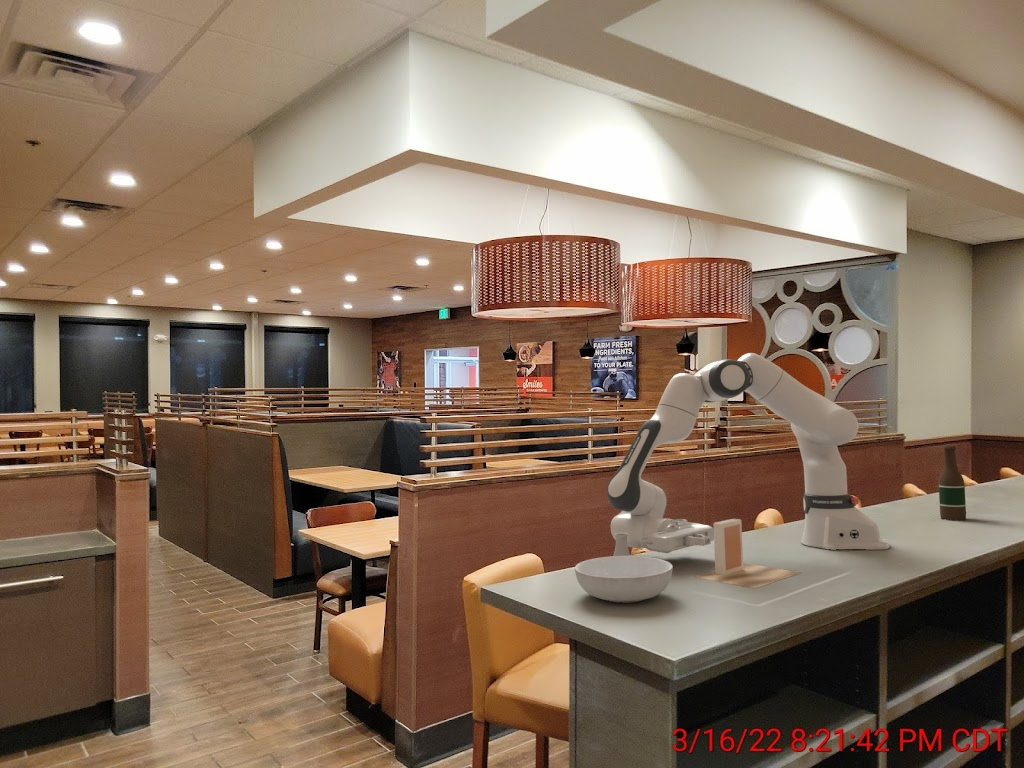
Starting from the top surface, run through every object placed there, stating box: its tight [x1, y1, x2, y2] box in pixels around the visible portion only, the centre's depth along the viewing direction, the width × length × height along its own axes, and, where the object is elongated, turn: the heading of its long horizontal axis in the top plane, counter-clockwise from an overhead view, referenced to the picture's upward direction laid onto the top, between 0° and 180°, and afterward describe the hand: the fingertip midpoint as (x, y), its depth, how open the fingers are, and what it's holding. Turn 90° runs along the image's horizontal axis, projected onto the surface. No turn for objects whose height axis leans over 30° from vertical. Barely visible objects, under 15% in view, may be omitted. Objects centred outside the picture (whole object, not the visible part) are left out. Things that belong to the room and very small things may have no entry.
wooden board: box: [694, 562, 802, 589], centre depth 173 cm, size 16×20×1 cm
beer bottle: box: [938, 444, 967, 522], centre depth 243 cm, size 8×8×24 cm
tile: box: [713, 518, 744, 575], centre depth 177 cm, size 2×8×12 cm, turn 130°
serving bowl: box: [574, 555, 674, 604], centre depth 159 cm, size 21×21×7 cm
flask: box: [613, 533, 631, 556], centre depth 179 cm, size 7×7×10 cm
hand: (707, 541), depth 182 cm, fingers closed
